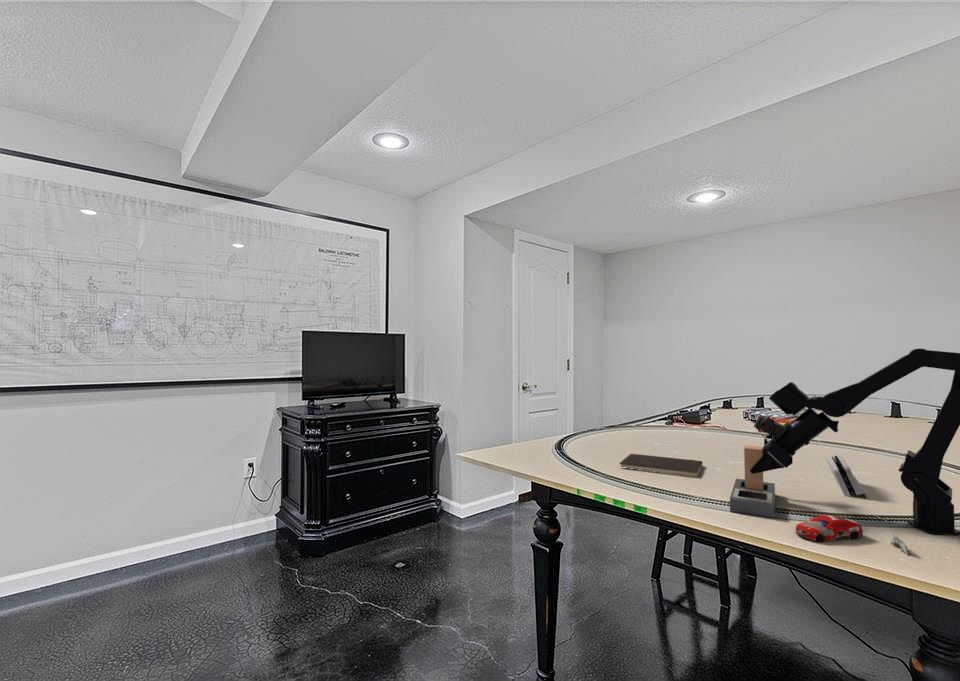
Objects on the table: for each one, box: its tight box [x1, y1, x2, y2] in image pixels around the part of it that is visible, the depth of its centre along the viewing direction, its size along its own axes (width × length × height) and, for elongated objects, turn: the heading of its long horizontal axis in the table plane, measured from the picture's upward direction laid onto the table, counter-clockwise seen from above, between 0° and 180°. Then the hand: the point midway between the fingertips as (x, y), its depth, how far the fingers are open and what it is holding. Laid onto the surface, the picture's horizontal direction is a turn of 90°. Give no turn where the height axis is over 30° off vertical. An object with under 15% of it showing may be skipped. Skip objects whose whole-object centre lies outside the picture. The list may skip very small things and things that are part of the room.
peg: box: [743, 444, 764, 490], centre depth 121 cm, size 4×4×13 cm
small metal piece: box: [890, 534, 911, 556], centre depth 89 cm, size 6×2×3 cm, turn 160°
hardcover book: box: [619, 453, 703, 478], centre depth 152 cm, size 16×23×2 cm
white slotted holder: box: [825, 454, 870, 500], centre depth 128 cm, size 17×5×10 cm, turn 149°
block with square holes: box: [729, 478, 776, 519], centre depth 117 cm, size 20×9×3 cm, turn 147°
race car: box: [795, 514, 864, 543], centre depth 96 cm, size 13×5×4 cm, turn 97°
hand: (751, 468), depth 121 cm, fingers open, 9 cm apart
